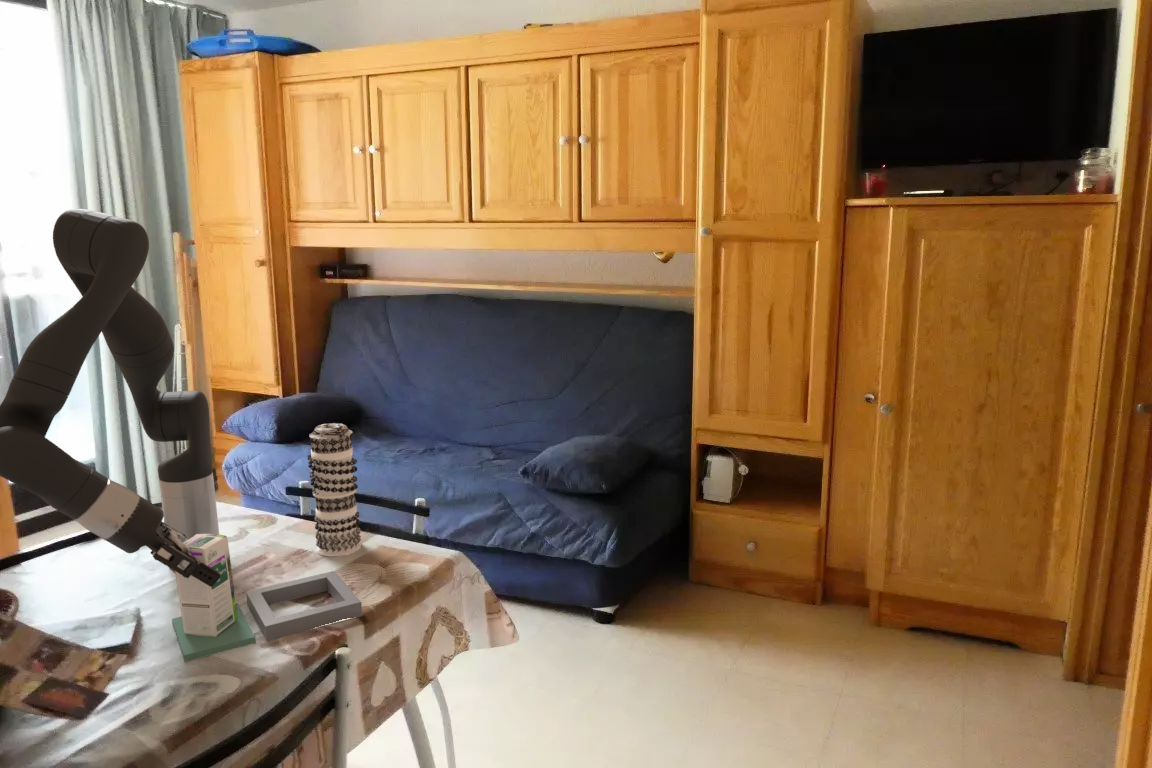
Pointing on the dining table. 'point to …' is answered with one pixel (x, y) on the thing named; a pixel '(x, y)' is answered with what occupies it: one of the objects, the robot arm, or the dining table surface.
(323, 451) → the decorative candle
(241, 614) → the pad
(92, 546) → the dining table surface
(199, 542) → the syrup box
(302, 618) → the pocket board
